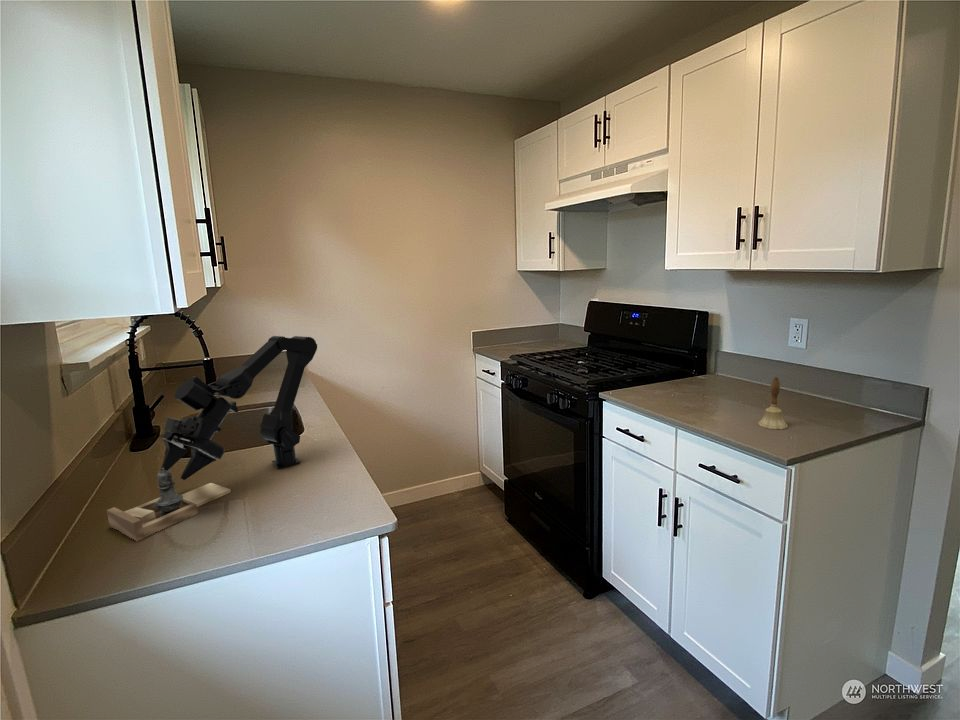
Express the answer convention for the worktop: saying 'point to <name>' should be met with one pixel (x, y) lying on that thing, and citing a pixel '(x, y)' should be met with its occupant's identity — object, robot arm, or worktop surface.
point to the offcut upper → (143, 514)
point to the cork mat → (204, 494)
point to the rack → (138, 531)
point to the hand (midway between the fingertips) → (172, 475)
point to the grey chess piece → (167, 494)
